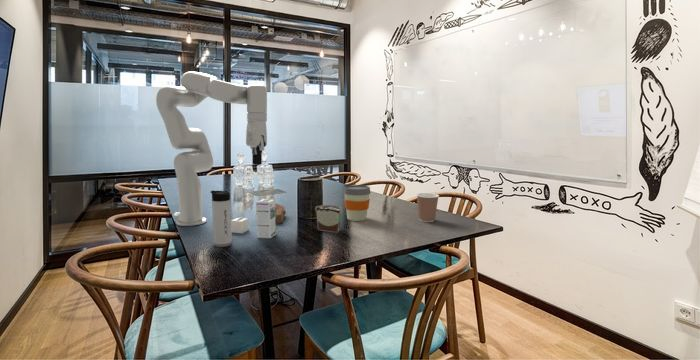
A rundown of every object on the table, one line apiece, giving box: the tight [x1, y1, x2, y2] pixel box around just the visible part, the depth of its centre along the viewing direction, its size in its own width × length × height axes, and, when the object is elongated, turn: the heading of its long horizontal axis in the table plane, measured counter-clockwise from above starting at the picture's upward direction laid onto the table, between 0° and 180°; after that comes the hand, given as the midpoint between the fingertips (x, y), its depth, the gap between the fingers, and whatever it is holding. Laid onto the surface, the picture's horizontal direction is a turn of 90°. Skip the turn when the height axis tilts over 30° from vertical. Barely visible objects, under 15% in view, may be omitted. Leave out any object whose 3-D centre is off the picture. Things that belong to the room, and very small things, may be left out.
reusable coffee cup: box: [343, 184, 371, 222], centre depth 179 cm, size 13×13×15 cm
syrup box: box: [255, 198, 277, 239], centre depth 149 cm, size 6×6×14 cm
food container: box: [314, 204, 343, 234], centre depth 159 cm, size 12×6×10 cm, turn 65°
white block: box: [231, 217, 250, 234], centre depth 156 cm, size 5×5×5 cm
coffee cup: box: [416, 192, 440, 223], centre depth 176 cm, size 10×10×12 cm
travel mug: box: [210, 189, 233, 248], centre depth 138 cm, size 6×7×20 cm
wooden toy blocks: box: [275, 202, 287, 224], centre depth 176 cm, size 8×13×18 cm
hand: (257, 164), depth 151 cm, fingers closed
